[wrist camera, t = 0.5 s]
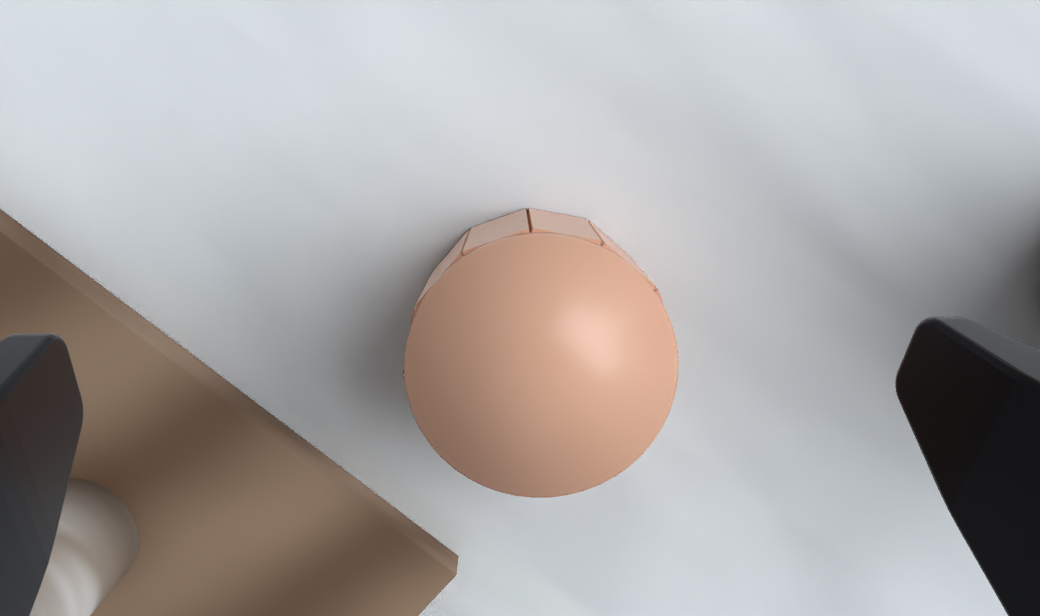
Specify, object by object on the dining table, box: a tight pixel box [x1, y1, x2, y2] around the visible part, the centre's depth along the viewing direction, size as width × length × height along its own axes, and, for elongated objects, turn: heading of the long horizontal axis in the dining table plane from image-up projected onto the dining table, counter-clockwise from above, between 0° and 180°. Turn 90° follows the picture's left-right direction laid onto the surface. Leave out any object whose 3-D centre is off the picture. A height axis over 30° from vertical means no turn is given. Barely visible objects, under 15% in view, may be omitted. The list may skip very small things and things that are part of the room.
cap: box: [403, 208, 678, 497], centre depth 20 cm, size 6×6×4 cm
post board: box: [0, 209, 458, 616], centre depth 21 cm, size 18×12×6 cm, turn 49°
